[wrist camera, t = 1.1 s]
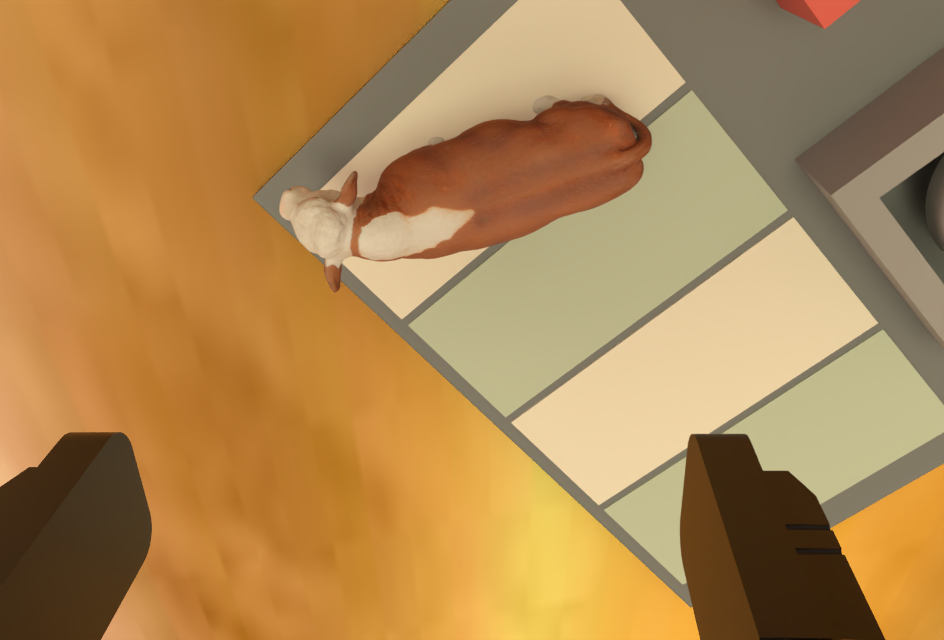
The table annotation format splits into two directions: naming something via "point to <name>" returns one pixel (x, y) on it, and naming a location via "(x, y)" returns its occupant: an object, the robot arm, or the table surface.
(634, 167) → the bull figurine
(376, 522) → the table surface
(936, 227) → the dome
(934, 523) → the table surface
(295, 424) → the table surface
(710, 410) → the game board
